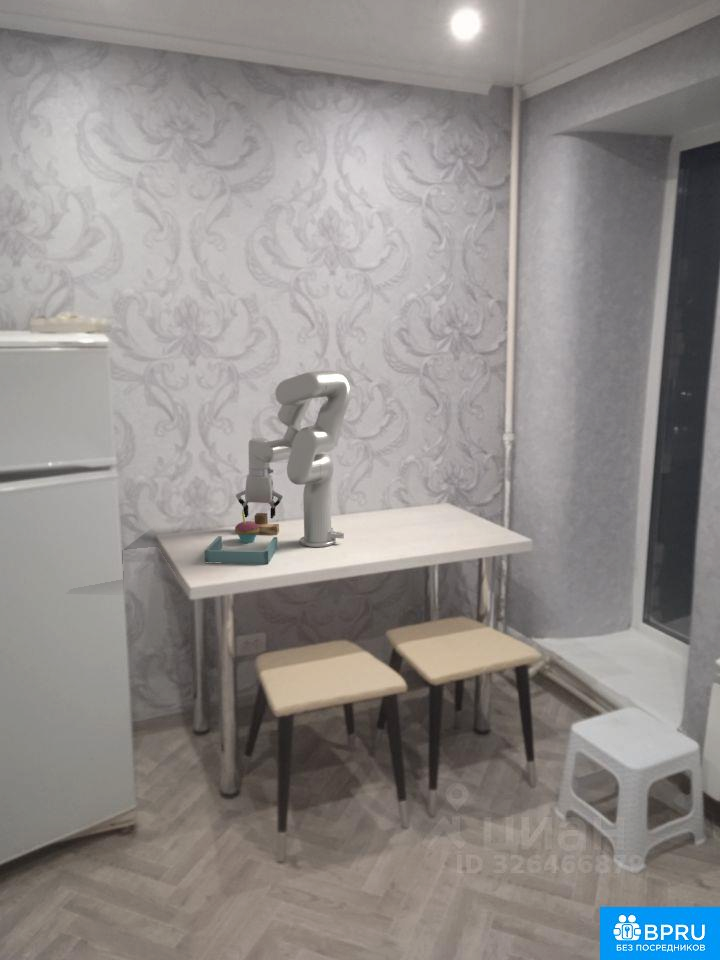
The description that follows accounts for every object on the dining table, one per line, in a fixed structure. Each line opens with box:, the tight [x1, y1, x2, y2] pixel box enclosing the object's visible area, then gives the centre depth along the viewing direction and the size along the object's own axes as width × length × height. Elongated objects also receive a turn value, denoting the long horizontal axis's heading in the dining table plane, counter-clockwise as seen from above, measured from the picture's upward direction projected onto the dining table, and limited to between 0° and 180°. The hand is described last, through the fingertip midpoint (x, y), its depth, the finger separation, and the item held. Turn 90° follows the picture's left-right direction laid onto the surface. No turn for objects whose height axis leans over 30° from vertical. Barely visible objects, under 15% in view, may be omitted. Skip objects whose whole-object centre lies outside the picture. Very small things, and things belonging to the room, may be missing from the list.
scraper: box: [254, 512, 280, 536], centre depth 269 cm, size 14×8×6 cm, turn 86°
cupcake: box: [234, 509, 259, 544], centre depth 255 cm, size 9×8×12 cm
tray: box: [203, 535, 279, 565], centre depth 240 cm, size 20×17×4 cm
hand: (259, 517), depth 271 cm, fingers open, 9 cm apart
